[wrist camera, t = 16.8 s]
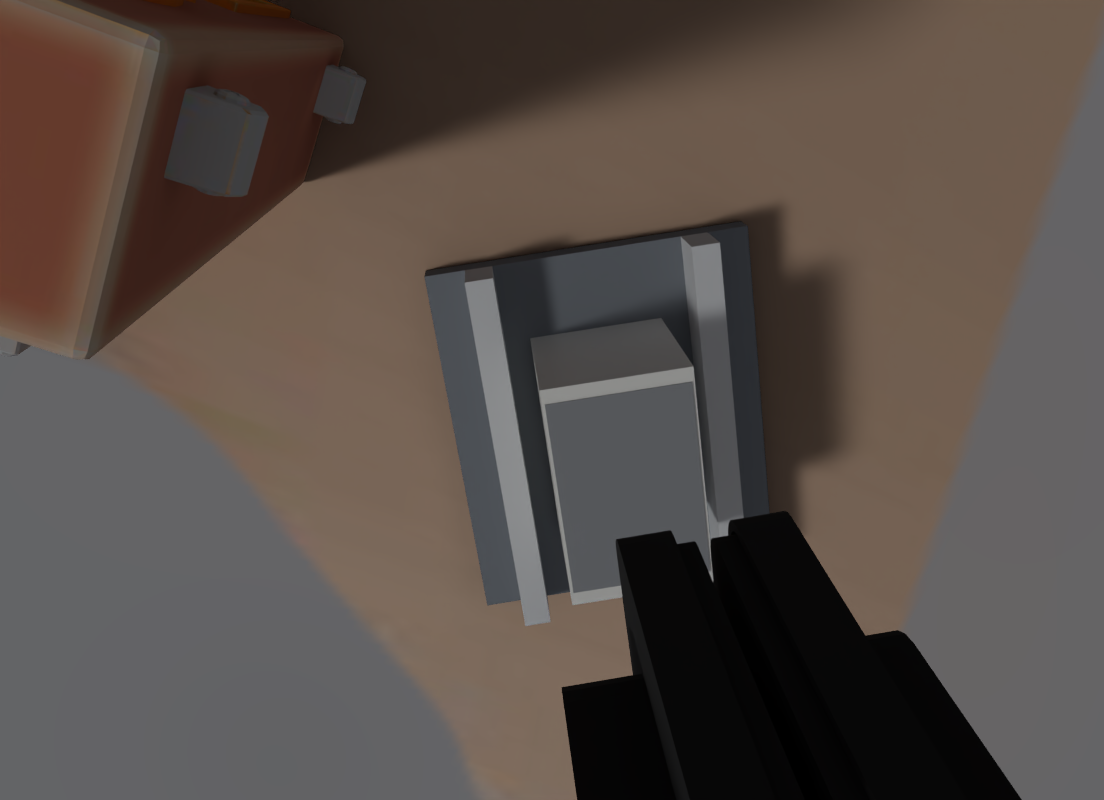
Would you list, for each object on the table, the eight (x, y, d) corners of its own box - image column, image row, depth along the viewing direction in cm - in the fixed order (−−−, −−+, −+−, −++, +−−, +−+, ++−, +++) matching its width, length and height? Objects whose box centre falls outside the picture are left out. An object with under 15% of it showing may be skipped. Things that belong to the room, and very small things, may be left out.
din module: (529, 338, 38) (539, 391, 32) (661, 317, 38) (693, 366, 32) (559, 526, 40) (572, 605, 35) (681, 507, 40) (714, 583, 35)
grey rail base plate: (426, 270, 37) (421, 289, 35) (741, 221, 38) (762, 235, 35) (487, 592, 42) (487, 632, 39) (766, 547, 42) (786, 583, 40)
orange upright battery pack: (-66, -145, 32) (388, 32, 35) (-101, 70, 34) (329, 222, 37) (-991, -463, 12) (265, 19, 14) (-940, 114, 14) (151, 442, 17)
